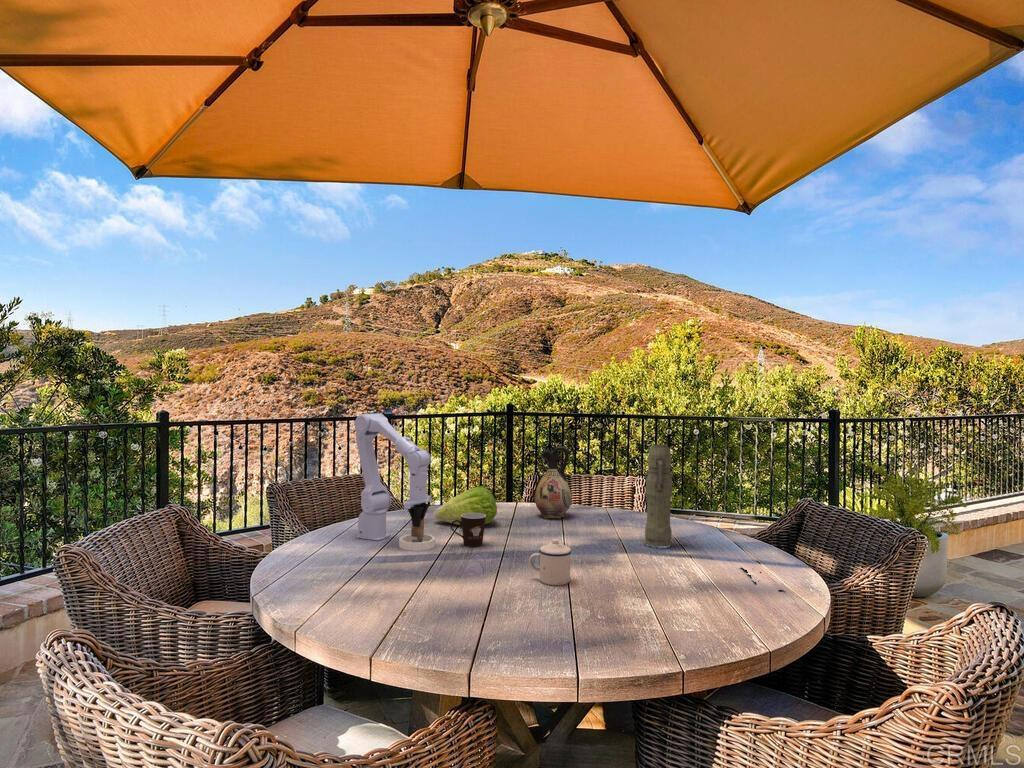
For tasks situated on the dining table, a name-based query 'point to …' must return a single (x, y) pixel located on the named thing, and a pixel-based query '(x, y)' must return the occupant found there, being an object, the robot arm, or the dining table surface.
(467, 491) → the chayote
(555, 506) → the ceramic jug
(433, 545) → the white shallow dish
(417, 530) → the brown wooden block
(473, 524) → the coffee mug
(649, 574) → the dining table surface
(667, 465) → the carved stone statue
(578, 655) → the dining table surface
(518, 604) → the dining table surface
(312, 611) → the dining table surface
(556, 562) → the teacup with lid
